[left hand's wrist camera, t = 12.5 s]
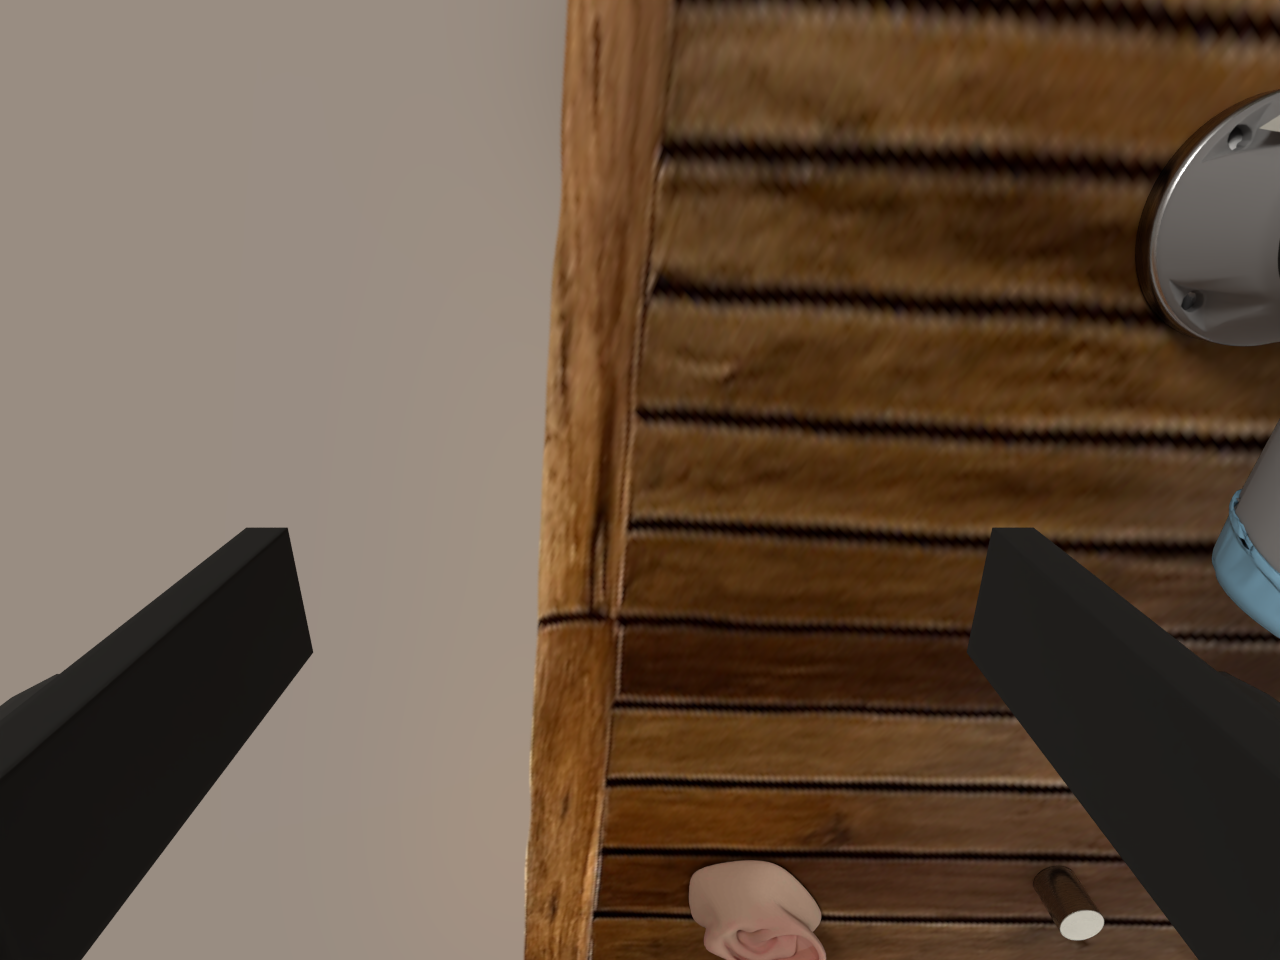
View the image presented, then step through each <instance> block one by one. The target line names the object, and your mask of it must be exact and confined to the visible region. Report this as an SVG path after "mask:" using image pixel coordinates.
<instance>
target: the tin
mask: <svg viewBox="0 0 1280 960" xmlns="http://www.w3.org/2000/svg"><path fill="white" fill-rule="evenodd" d="M1033 885H1034V888H1035V890H1036V892H1037V893H1038V895H1039V897H1040V899H1041V900H1042V902H1043V904H1044V905H1045V907H1046V909H1047V910H1048V912H1049V914H1050V916H1051V917H1052V919H1053V921H1054V922H1055V924H1056V926H1057V927H1058V929H1059V931H1060V932H1061V934H1062V935H1063V936H1064V937H1066V938H1068V939H1071V940H1084V939H1088V938H1090V937H1092V936H1094V935H1096V934H1097V933H1098V932H1099V931H1100V930H1101V929H1102V927H1103V925H1104V918H1103V916H1102V915H1101V913H1100V912H1099V910H1098V909H1097V907H1096V906H1095V904H1094V903H1093V901H1092V900H1091V898H1090V897H1089V895H1088V894H1087V892H1086V891H1085V889H1084V888H1083V886H1082V885H1081V883H1080V882H1079V880H1078V879H1077V877H1076V876H1075V874H1074V873H1073V871H1072V870H1070V869H1069V868H1067V867H1063V866H1053V867H1049V868H1046V869H1044V870H1043V871H1041V872H1040V873H1039V874H1038V875H1037V876H1036V877H1035V879H1034V883H1033Z"/></svg>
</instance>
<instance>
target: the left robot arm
mask: <svg viewBox="0 0 1280 960" xmlns="http://www.w3.org/2000/svg"><path fill="white" fill-rule="evenodd" d="M1135 259H1136V270H1137V275H1138V280H1139V283H1140V286H1141V289H1142V292H1143V294H1144V296H1145V298H1146V300H1147V302H1148V304H1149V305H1150V307H1151V308H1152V310H1153V311H1154V312H1155V313H1156V315H1157V316H1158V317H1159V318H1160V319H1161V320H1162V321H1164V322H1165V323H1166V324H1167V325H1169V326H1170V327H1171V328H1173V329H1175V330H1177V331H1178V332H1180V333H1182V334H1185V335H1187V336H1190V337H1193V338H1197V339H1200V340H1205V341H1210V342H1214V343H1219V344H1225V345H1231V346H1256V345H1263V344H1268V343H1274V342H1280V89H1278V90H1273V91H1269V92H1265V93H1262V94H1258V95H1256V96H1253V97H1250V98H1248V99H1245V100H1243V101H1241V102H1239V103H1237V104H1235V105H1233V106H1231V107H1229V108H1228V109H1226V110H1224V111H1222V112H1221V113H1219V114H1218V115H1217V116H1215V117H1214V118H1212V119H1211V120H1209V121H1208V122H1207V123H1206V124H1204V125H1203V126H1202V127H1201V128H1199V129H1198V130H1197V131H1196V132H1195V133H1194V134H1193V135H1192V136H1191V137H1190V138H1189V139H1188V140H1187V141H1186V142H1185V143H1184V144H1183V145H1182V146H1181V147H1180V148H1179V149H1178V150H1177V152H1176V153H1175V154H1174V155H1173V157H1172V158H1171V159H1170V160H1169V162H1168V163H1167V165H1166V166H1165V168H1164V169H1163V171H1162V172H1161V174H1160V175H1159V177H1158V179H1157V180H1156V182H1155V184H1154V186H1153V188H1152V190H1151V192H1150V194H1149V196H1148V198H1147V201H1146V204H1145V206H1144V209H1143V212H1142V215H1141V219H1140V222H1139V227H1138V232H1137V239H1136V256H1135ZM1212 563H1213V566H1214V569H1215V571H1216V578H1217V580H1218V582H1219V584H1220V585H1221V587H1222V588H1223V589H1224V591H1225V592H1226V594H1227V595H1228V596H1229V597H1230V598H1231V599H1232V600H1233V601H1234V602H1235V603H1236V605H1237V606H1239V607H1240V608H1241V609H1242V610H1243V611H1244V612H1245V613H1246V614H1247V615H1249V616H1250V617H1251V618H1252V619H1253V620H1255V621H1256V622H1257V623H1259V624H1260V625H1261V626H1262V627H1264V628H1265V629H1267V630H1268V631H1269V632H1271V633H1272V634H1274V635H1275V636H1277V637H1278V638H1280V419H1279V421H1278V423H1277V425H1276V427H1275V429H1274V431H1273V432H1272V434H1271V436H1270V438H1269V440H1268V442H1267V444H1266V445H1265V447H1264V449H1263V451H1262V453H1261V455H1260V457H1259V458H1258V460H1257V462H1256V464H1255V466H1254V468H1253V470H1252V471H1251V473H1250V475H1249V477H1248V479H1247V481H1246V483H1245V485H1244V486H1243V488H1242V489H1241V490H1238V491H1236V493H1235V494H1234V496H1233V497H1232V499H1231V502H1230V505H1229V516H1228V518H1227V520H1226V523H1225V525H1224V527H1223V529H1222V531H1221V533H1220V535H1219V538H1218V540H1217V542H1216V544H1215V546H1214V549H1213V554H1212ZM312 653H313V649H312V644H311V639H310V634H309V630H308V625H307V620H306V615H305V610H304V605H303V600H302V596H301V591H300V586H299V581H298V576H297V571H296V566H295V561H294V557H293V552H292V547H291V542H290V537H289V532H288V528H245V529H244V530H243V531H242V532H240V533H239V534H238V535H237V536H235V537H234V538H233V539H231V540H230V541H229V542H228V543H226V544H225V545H224V546H222V547H221V548H220V549H219V550H217V551H216V552H215V553H214V554H212V555H211V556H210V557H209V558H207V559H206V560H205V561H203V562H202V563H201V564H200V565H198V566H197V567H196V568H194V569H193V570H192V571H191V572H189V573H188V574H187V575H185V576H184V577H183V578H182V579H180V580H179V581H178V582H177V583H175V584H174V585H173V586H171V587H170V588H169V589H168V590H166V591H165V592H164V593H162V594H161V595H160V596H159V597H157V598H156V599H155V600H154V601H152V602H151V603H150V604H149V605H147V606H146V607H145V608H143V609H142V610H141V611H140V612H138V613H137V614H136V615H134V616H133V617H132V618H131V619H129V620H128V621H127V622H125V623H124V624H123V625H122V626H120V627H119V628H118V629H117V630H115V631H114V632H113V633H111V634H110V635H109V636H108V637H106V638H105V639H104V640H103V641H101V642H100V643H99V644H97V645H96V646H95V647H94V648H92V649H91V650H90V651H88V652H87V653H86V654H85V655H83V656H82V657H81V658H80V659H78V660H77V661H76V662H74V663H73V664H72V665H71V666H69V667H68V668H67V669H66V670H64V671H63V672H62V673H60V674H56V675H54V676H52V677H50V678H48V679H46V680H44V681H42V682H41V683H39V684H37V685H35V686H33V687H31V688H29V689H27V690H25V691H23V692H21V693H19V694H18V695H16V696H14V697H12V698H10V699H9V700H8V701H6V702H5V703H4V704H2V705H1V706H0V960H81V959H82V958H83V957H84V955H85V954H86V953H87V952H88V950H89V949H90V948H91V946H92V945H93V943H94V942H95V941H96V940H97V938H98V937H99V936H100V934H101V933H102V932H103V930H104V929H105V928H106V926H107V925H108V924H109V922H110V921H111V920H112V918H113V917H114V916H115V914H116V913H117V912H118V910H119V909H120V908H121V906H122V905H123V904H124V902H125V901H126V900H127V898H128V897H129V896H130V894H131V893H132V892H133V891H134V889H135V888H136V887H137V885H138V884H139V882H140V881H141V880H142V879H143V877H144V876H145V875H146V873H147V872H148V871H149V869H150V868H151V867H152V865H153V864H154V863H155V861H156V860H157V859H158V857H159V856H160V855H161V853H162V852H163V851H164V849H165V848H166V847H167V845H168V844H169V843H170V841H171V840H172V839H173V838H174V836H175V835H176V834H177V832H178V831H179V830H180V828H181V827H182V826H183V824H184V823H185V822H186V820H187V819H188V818H189V816H190V815H191V814H192V812H193V811H194V810H195V808H196V807H197V806H198V804H199V803H200V802H201V800H202V799H203V798H204V796H205V795H206V794H207V792H208V791H209V790H210V788H211V787H212V786H213V785H214V783H215V782H216V781H217V779H218V778H219V777H220V775H221V774H222V773H223V771H224V770H225V769H226V767H227V766H228V765H229V763H230V762H231V761H232V759H233V758H234V757H235V755H236V754H237V753H238V751H239V750H240V749H241V747H242V746H243V745H244V743H245V742H246V741H247V739H248V738H249V737H250V735H251V734H252V733H253V731H254V730H255V729H256V727H257V726H258V725H259V723H260V722H261V721H262V720H263V718H264V717H265V716H266V714H267V713H268V712H269V710H270V709H271V708H272V706H273V705H274V704H275V702H276V701H277V700H278V698H279V697H280V696H281V694H282V693H283V692H284V690H285V689H286V688H287V686H288V685H289V684H290V682H291V681H292V680H293V678H294V677H295V676H296V674H297V673H298V672H299V671H300V669H301V668H302V667H303V665H304V664H305V663H306V661H307V660H308V658H309V657H310V656H311V655H312ZM967 653H968V655H969V656H970V657H971V659H972V660H973V661H974V663H975V664H976V665H977V667H978V668H979V669H980V671H981V672H982V673H983V675H984V676H985V677H986V678H987V680H988V681H989V682H990V684H991V685H992V686H993V688H994V689H995V690H996V692H997V693H998V694H999V696H1000V697H1001V698H1002V700H1003V701H1004V702H1005V704H1006V705H1007V706H1008V708H1009V709H1010V710H1011V712H1012V713H1013V714H1014V716H1015V717H1016V718H1017V720H1018V721H1019V722H1020V724H1021V725H1022V726H1023V728H1024V729H1025V730H1026V731H1027V733H1028V734H1029V735H1030V737H1031V738H1032V739H1033V741H1034V742H1035V743H1036V745H1037V746H1038V747H1039V749H1040V750H1041V751H1042V753H1043V754H1044V755H1045V757H1046V758H1047V759H1048V761H1049V762H1050V763H1051V765H1052V766H1053V767H1054V769H1055V770H1056V771H1057V773H1058V774H1059V775H1060V777H1061V778H1062V779H1063V781H1064V782H1065V783H1066V785H1067V786H1068V787H1069V788H1070V790H1071V791H1072V792H1073V794H1074V795H1075V796H1076V798H1077V799H1078V800H1079V802H1080V803H1081V804H1082V806H1083V807H1084V808H1085V810H1086V811H1087V812H1088V814H1089V815H1090V816H1091V818H1092V819H1093V820H1094V822H1095V823H1096V824H1097V826H1098V827H1099V828H1100V830H1101V831H1102V832H1103V834H1104V835H1105V836H1106V838H1107V839H1108V840H1109V842H1110V843H1111V844H1112V845H1113V847H1114V848H1115V849H1116V851H1117V852H1118V853H1119V855H1120V856H1121V857H1122V859H1123V860H1124V861H1125V863H1126V864H1127V865H1128V867H1129V868H1130V869H1131V871H1132V872H1133V873H1134V875H1135V876H1136V877H1137V879H1138V880H1139V881H1140V883H1141V884H1142V885H1143V887H1144V888H1145V889H1146V891H1147V892H1148V893H1149V895H1150V896H1151V897H1152V898H1153V900H1154V901H1155V902H1156V904H1157V905H1158V906H1159V908H1160V909H1161V910H1162V912H1163V913H1164V914H1165V916H1166V917H1167V918H1168V920H1169V921H1170V922H1171V924H1172V925H1173V926H1174V928H1175V929H1176V930H1177V932H1178V933H1179V934H1180V936H1181V937H1182V938H1183V940H1184V941H1185V942H1186V944H1187V945H1188V946H1189V948H1190V949H1191V950H1192V952H1193V953H1194V954H1195V955H1196V957H1197V958H1198V959H1199V960H1280V703H1279V702H1278V701H1277V700H1275V699H1274V698H1273V697H1271V696H1270V695H1268V694H1266V693H1264V692H1262V691H1260V690H1259V689H1257V688H1255V687H1253V686H1251V685H1249V684H1247V683H1245V682H1243V681H1241V680H1239V679H1237V678H1235V677H1233V676H1231V675H1230V674H1228V673H1226V672H1217V671H1216V670H1214V669H1213V668H1212V667H1211V666H1209V665H1208V664H1207V663H1206V662H1204V661H1203V660H1202V659H1200V658H1199V657H1198V656H1197V655H1195V654H1194V653H1193V652H1192V651H1190V650H1189V649H1188V648H1186V647H1185V646H1184V645H1183V644H1181V643H1180V642H1179V641H1177V640H1176V639H1175V638H1174V637H1172V636H1171V635H1170V634H1169V633H1167V632H1166V631H1165V630H1163V629H1162V628H1161V627H1160V626H1158V625H1157V624H1156V623H1155V622H1153V621H1152V620H1151V619H1149V618H1148V617H1147V616H1146V615H1144V614H1143V613H1142V612H1140V611H1139V610H1138V609H1137V608H1135V607H1134V606H1133V605H1132V604H1130V603H1129V602H1128V601H1126V600H1125V599H1124V598H1123V597H1121V596H1120V595H1119V594H1118V593H1116V592H1115V591H1114V590H1112V589H1111V588H1110V587H1109V586H1107V585H1106V584H1105V583H1103V582H1102V581H1101V580H1100V579H1098V578H1097V577H1096V576H1095V575H1093V574H1092V573H1091V572H1089V571H1088V570H1087V569H1086V568H1084V567H1083V566H1082V565H1081V564H1079V563H1078V562H1077V561H1075V560H1074V559H1073V558H1072V557H1070V556H1069V555H1068V554H1066V553H1065V552H1064V551H1063V550H1061V549H1060V548H1059V547H1058V546H1056V545H1055V544H1054V543H1052V542H1051V541H1050V540H1049V539H1047V538H1046V537H1045V536H1044V535H1042V534H1041V533H1040V532H1038V531H1037V530H1036V529H1035V528H992V532H991V537H990V542H989V547H988V552H987V557H986V561H985V566H984V571H983V576H982V581H981V586H980V591H979V596H978V600H977V605H976V610H975V615H974V620H973V625H972V630H971V634H970V639H969V644H968V649H967Z"/></svg>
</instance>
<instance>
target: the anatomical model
mask: <svg viewBox="0 0 1280 960" xmlns="http://www.w3.org/2000/svg"><path fill="white" fill-rule="evenodd" d="M689 904H690V909H691V914H692V916H693V918H694V920H695V921H696V922H697V923H698V924H700V925H701V926H703V927H705V928H706V932H705V936H704V944H705V947H706V949H707V950H708V951H710V952H711V953H713V954H715V955H718V956H720V957H722V958H724V959H726V960H826V953H825V950H824V947H823V946H822V944H821V942H820V941H819V939H818V938H817V937H816V935H815V934H814V933H813V931H814V930H815V929H816V928H817V926H818V925H819V923H820V921H821V912H820V909H819V907H818V905H817V904H816V902H815V900H814V899H813V898H812V896H811V895H810V894H809V893H808V891H807V890H806V889H805V888H804V887H803V886H802V885H801V884H800V883H799V881H798V880H796V879H795V878H794V877H793V876H792V875H791V874H790V873H789V872H787V871H786V870H785V869H783V868H782V867H780V866H778V865H776V864H773V863H770V862H766V861H758V860H743V861H733V862H726V863H720V864H715V865H711V866H707V867H704V868H702V869H699V870H698V871H696V872H695V873H694V874H693V876H692V877H691V880H690V886H689Z"/></svg>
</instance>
